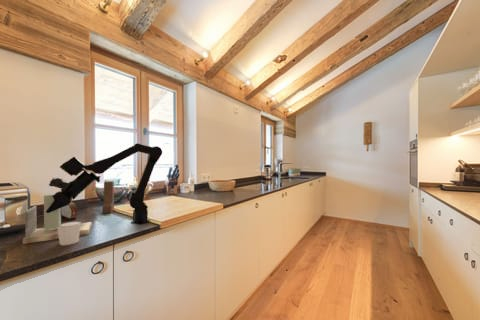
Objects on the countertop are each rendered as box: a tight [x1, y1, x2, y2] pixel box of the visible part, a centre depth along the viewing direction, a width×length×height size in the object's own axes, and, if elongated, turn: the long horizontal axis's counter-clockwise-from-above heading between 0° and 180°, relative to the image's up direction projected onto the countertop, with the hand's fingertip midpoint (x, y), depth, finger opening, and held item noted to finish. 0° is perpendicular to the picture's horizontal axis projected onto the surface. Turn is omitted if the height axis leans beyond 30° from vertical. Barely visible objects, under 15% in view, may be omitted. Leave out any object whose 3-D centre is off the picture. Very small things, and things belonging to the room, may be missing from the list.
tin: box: [61, 201, 78, 220], centre depth 113 cm, size 15×3×8 cm, turn 58°
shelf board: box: [22, 205, 93, 245], centre depth 88 cm, size 20×12×12 cm, turn 121°
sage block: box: [43, 193, 62, 230], centre depth 87 cm, size 4×4×14 cm
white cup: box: [57, 221, 81, 246], centre depth 80 cm, size 7×7×7 cm
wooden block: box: [102, 180, 115, 215], centre depth 124 cm, size 9×4×18 cm, turn 23°
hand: (48, 211), depth 87 cm, fingers closed on sage block, 4 cm apart
